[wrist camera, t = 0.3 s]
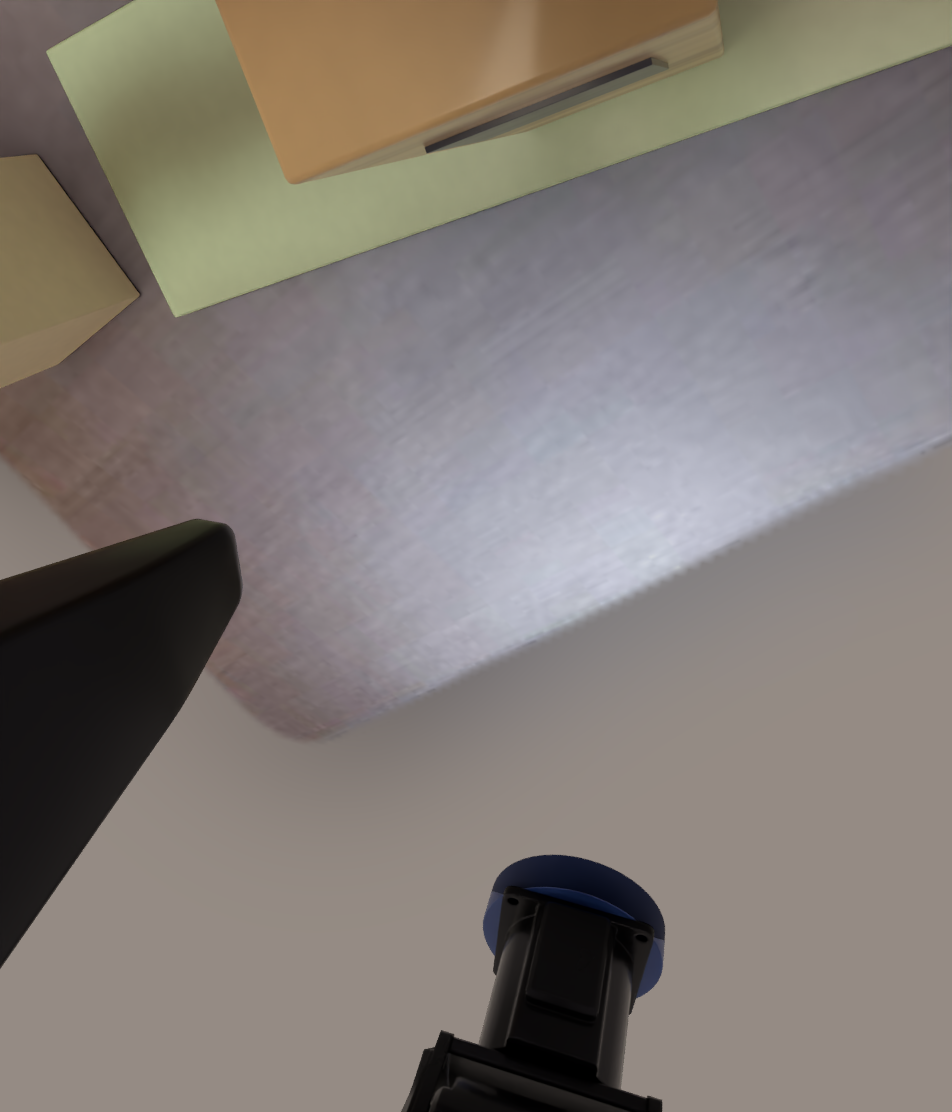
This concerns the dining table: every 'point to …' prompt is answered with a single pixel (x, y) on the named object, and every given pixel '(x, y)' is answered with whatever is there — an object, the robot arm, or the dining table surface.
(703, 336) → the dining table surface
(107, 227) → the dining table surface
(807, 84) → the block line
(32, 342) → the tall cream block
